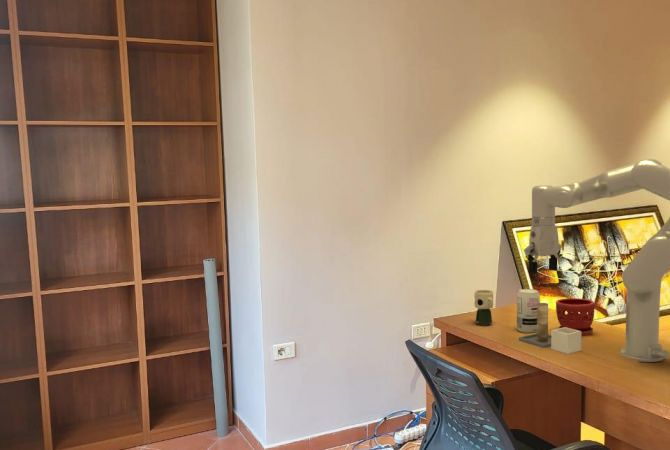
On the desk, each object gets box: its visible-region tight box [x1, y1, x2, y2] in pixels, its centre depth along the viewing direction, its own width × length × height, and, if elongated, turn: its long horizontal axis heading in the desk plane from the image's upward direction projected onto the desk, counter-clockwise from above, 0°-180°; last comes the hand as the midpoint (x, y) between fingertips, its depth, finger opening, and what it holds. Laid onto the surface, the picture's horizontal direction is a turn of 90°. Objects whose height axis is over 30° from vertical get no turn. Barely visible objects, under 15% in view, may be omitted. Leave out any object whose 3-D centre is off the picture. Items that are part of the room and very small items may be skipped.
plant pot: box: [555, 297, 595, 337], centre depth 229 cm, size 13×13×12 cm
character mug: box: [473, 289, 494, 326], centre depth 245 cm, size 11×7×13 cm, turn 22°
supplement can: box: [516, 288, 541, 334], centre depth 234 cm, size 8×8×15 cm
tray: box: [518, 332, 551, 349], centre depth 219 cm, size 11×11×2 cm
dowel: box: [536, 302, 549, 342], centre depth 218 cm, size 4×4×13 cm
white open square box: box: [550, 327, 582, 355], centre depth 208 cm, size 7×7×7 cm
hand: (543, 271), depth 216 cm, fingers open, 9 cm apart
